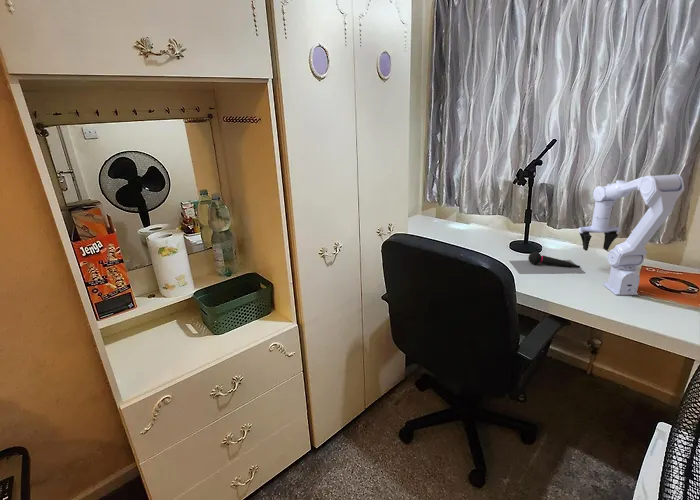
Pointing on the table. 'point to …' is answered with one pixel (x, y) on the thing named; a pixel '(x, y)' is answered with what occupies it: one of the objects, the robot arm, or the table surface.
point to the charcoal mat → (543, 268)
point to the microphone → (548, 260)
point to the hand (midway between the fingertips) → (595, 249)
